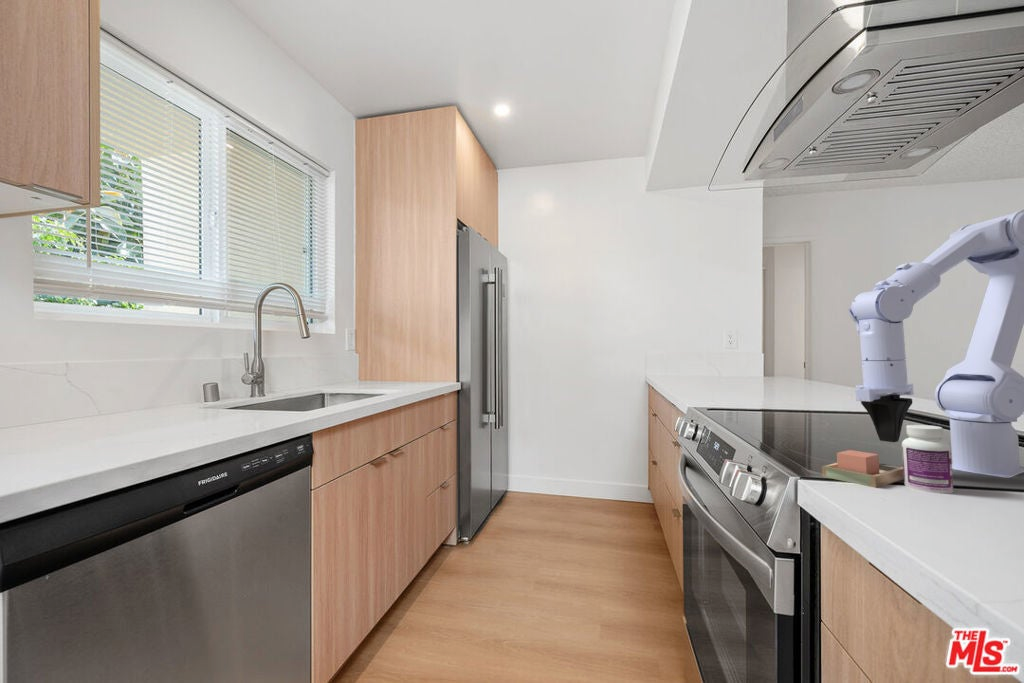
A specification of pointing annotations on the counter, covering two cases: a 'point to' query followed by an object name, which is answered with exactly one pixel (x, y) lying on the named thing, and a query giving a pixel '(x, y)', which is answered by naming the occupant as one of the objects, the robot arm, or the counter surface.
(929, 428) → the pill bottle
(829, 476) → the box
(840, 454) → the red block
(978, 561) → the counter surface
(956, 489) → the counter surface
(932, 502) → the counter surface
